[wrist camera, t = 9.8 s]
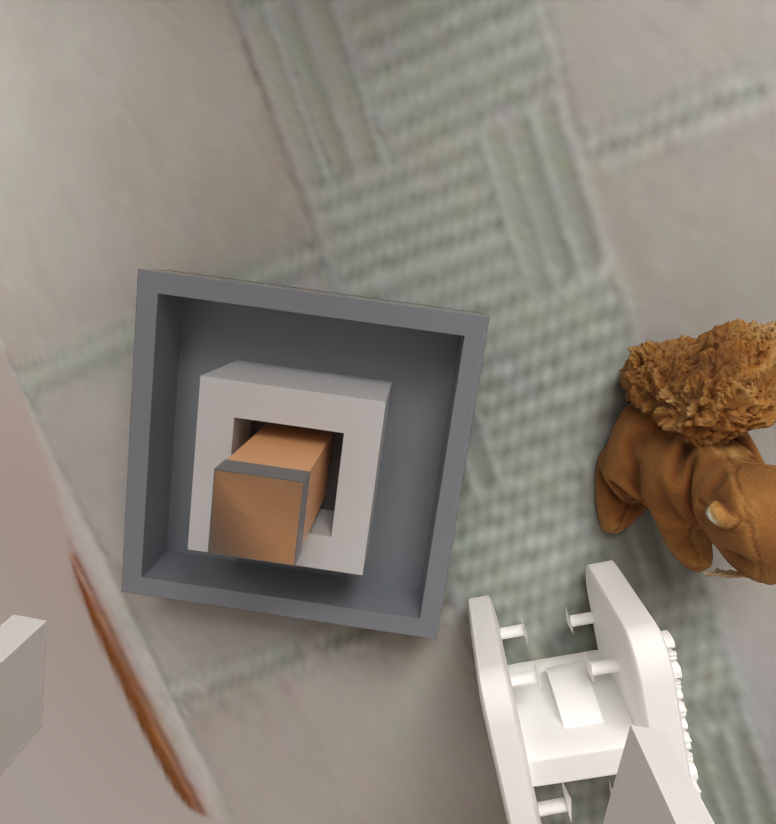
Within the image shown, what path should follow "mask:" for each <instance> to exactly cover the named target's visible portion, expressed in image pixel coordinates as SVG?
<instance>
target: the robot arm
mask: <svg viewBox="0 0 776 824" xmlns="http://www.w3.org/2000/svg"><path fill="white" fill-rule="evenodd" d="M46 630H47V621H46V620H40V619H35V618H29V617H23V616H18V615H13V616H12V617H10V618H9V619H8V620H7V621H5V622H4V623H3V624H2V625H1V626H0V775H1V774H2V773H3V772H4V770H5V769H6V768H7V767H8V766H9V764H10V763H11V762H12V761H13V760H14V759H15V758H16V756H17V755H18V754H19V753H20V752H21V750H22V749H23V748H24V747H25V746H26V744H27V743H28V742H29V741H30V740H31V738H32V737H33V736H34V735H35V734H36V733H37V731H38V730H39V729H40V728H41V727H42V711H43V691H44V670H45V651H46ZM603 824H714V822H713V820H712V818H711V816H710V814H709V813H708V811H707V809H706V807H705V805H704V803H703V801H702V799H701V797H700V796H699V794H698V792H697V790H696V788H695V786H694V784H693V782H692V780H691V779H690V777H689V775H688V773H687V771H686V769H685V767H684V765H683V763H682V762H681V760H680V758H679V756H678V754H677V752H676V750H675V748H674V746H673V745H672V743H671V741H670V739H669V737H668V735H667V733H666V731H663V730H658V729H652V728H646V727H641V726H635V725H630V728H629V732H628V736H627V739H626V743H625V746H624V750H623V753H622V757H621V760H620V764H619V767H618V771H617V775H616V778H615V782H614V785H613V789H612V792H611V796H610V799H609V803H608V807H607V810H606V814H605V817H604V821H603Z"/></svg>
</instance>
